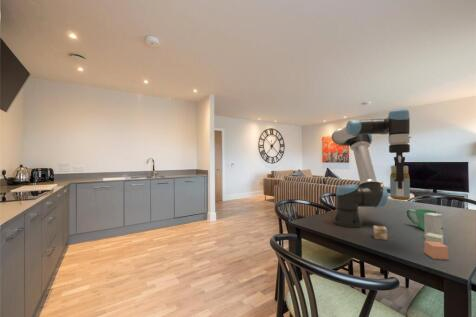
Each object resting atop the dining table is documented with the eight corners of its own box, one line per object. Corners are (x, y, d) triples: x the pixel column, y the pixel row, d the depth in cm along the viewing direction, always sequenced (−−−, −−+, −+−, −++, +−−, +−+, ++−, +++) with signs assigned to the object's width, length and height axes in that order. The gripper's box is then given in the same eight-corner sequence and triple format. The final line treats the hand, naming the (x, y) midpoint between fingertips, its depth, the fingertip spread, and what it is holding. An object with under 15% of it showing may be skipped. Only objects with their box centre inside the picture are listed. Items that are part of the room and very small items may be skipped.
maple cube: (374, 238, 103) (374, 228, 103) (373, 235, 107) (373, 225, 107) (387, 240, 101) (387, 229, 100) (385, 236, 105) (385, 226, 105)
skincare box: (434, 241, 98) (433, 215, 98) (423, 237, 102) (423, 213, 102) (444, 239, 99) (443, 214, 99) (433, 236, 104) (433, 212, 104)
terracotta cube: (433, 258, 82) (432, 246, 82) (424, 253, 87) (424, 241, 87) (448, 259, 81) (448, 247, 81) (438, 254, 86) (438, 241, 86)
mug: (443, 231, 110) (443, 212, 110) (432, 234, 107) (432, 214, 107) (412, 223, 124) (412, 206, 124) (401, 225, 121) (401, 208, 121)
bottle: (386, 197, 98) (386, 165, 98) (400, 197, 99) (400, 165, 99) (399, 200, 91) (398, 166, 91) (414, 200, 92) (413, 166, 92)
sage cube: (425, 246, 93) (425, 235, 93) (428, 243, 96) (428, 232, 96) (441, 250, 89) (441, 238, 89) (443, 246, 92) (443, 235, 92)
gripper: (411, 142, 85) (412, 199, 85) (408, 144, 100) (409, 192, 100) (388, 143, 90) (389, 197, 90) (389, 145, 105) (390, 191, 105)
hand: (399, 194), depth 95 cm, fingers closed on bottle, 6 cm apart
